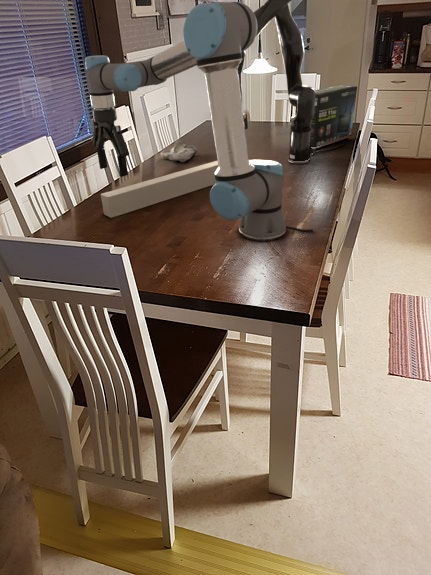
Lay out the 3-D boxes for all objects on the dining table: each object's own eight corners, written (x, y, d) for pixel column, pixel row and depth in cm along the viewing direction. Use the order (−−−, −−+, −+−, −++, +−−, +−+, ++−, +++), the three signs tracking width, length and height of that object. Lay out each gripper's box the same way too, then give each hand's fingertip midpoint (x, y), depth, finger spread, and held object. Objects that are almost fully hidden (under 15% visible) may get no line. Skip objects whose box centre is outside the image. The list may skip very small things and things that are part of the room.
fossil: (184, 156, 217) (163, 136, 220) (174, 174, 223) (154, 154, 227) (205, 153, 231) (186, 134, 234) (195, 171, 237) (176, 152, 240)
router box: (314, 151, 231) (318, 94, 217) (296, 148, 237) (299, 92, 224) (352, 138, 251) (358, 85, 238) (335, 135, 258) (340, 83, 245)
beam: (111, 218, 165) (107, 197, 161) (103, 214, 168) (100, 194, 164) (246, 173, 204) (246, 156, 200) (238, 171, 207) (238, 154, 203)
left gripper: (134, 110, 145) (142, 176, 156) (95, 102, 161) (104, 162, 172) (114, 114, 140) (123, 181, 151) (75, 105, 157) (86, 167, 168)
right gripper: (252, 97, 183) (251, 139, 192) (227, 94, 192) (228, 134, 201) (238, 100, 179) (239, 142, 187) (214, 96, 188) (215, 137, 197)
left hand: (113, 171), depth 162 cm, fingers open, 13 cm apart
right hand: (233, 138), depth 194 cm, fingers open, 8 cm apart
